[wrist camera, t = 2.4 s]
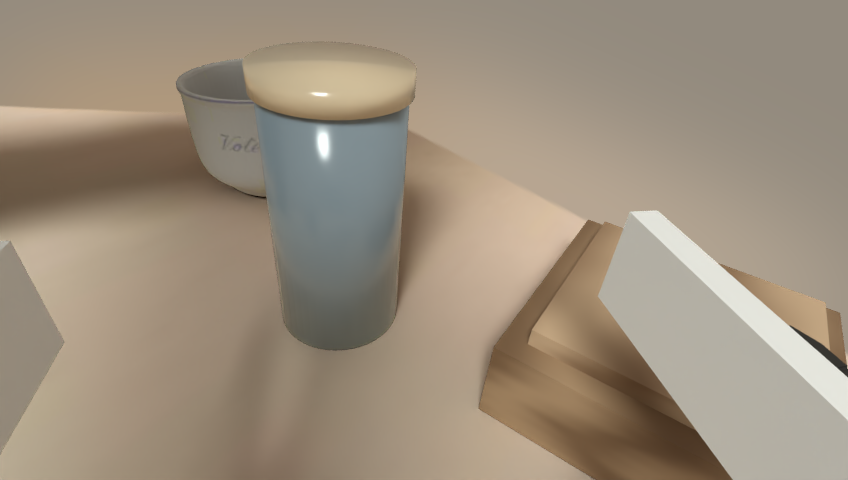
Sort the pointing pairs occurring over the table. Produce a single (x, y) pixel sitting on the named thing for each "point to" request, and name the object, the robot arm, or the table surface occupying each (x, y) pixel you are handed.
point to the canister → (333, 182)
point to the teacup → (224, 124)
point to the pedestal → (611, 373)
